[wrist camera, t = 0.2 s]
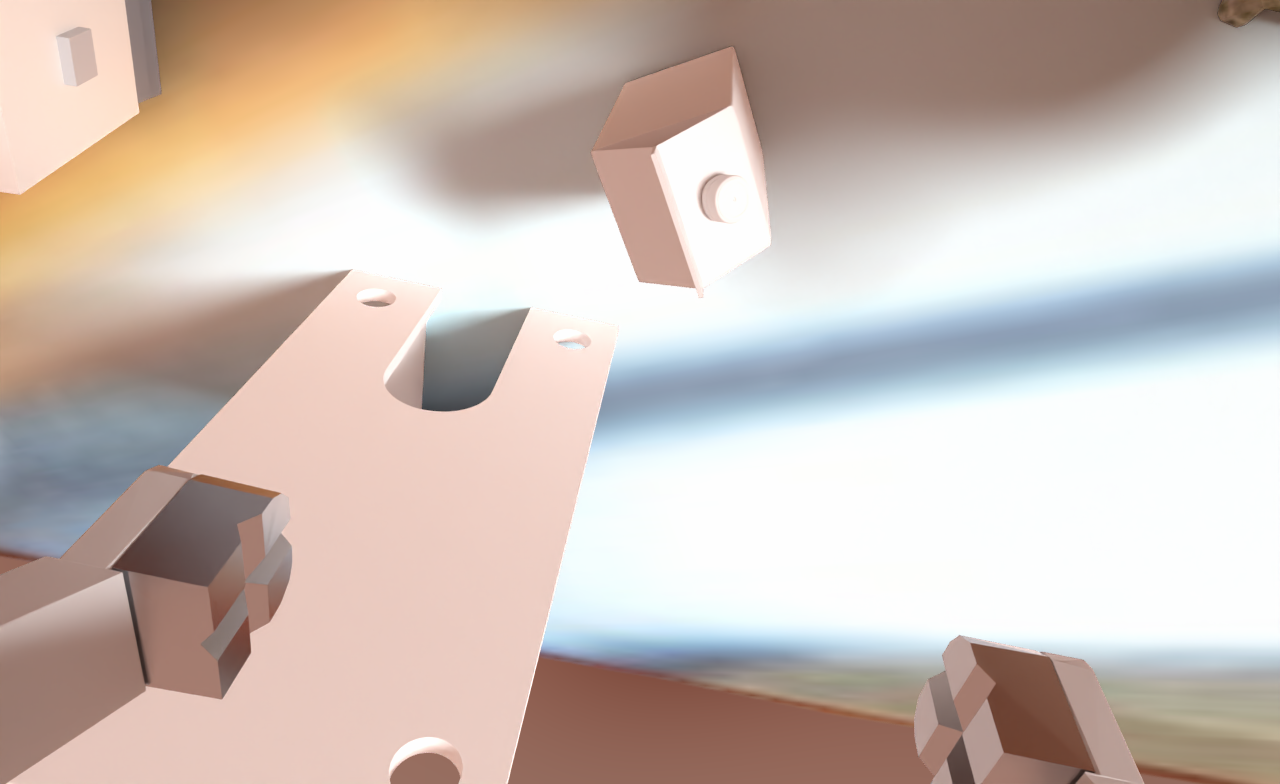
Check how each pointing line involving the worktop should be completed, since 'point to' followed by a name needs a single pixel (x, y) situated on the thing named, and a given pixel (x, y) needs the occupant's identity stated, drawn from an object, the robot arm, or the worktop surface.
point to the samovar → (1244, 10)
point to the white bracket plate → (379, 556)
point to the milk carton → (686, 172)
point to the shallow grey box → (143, 48)
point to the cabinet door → (60, 83)
